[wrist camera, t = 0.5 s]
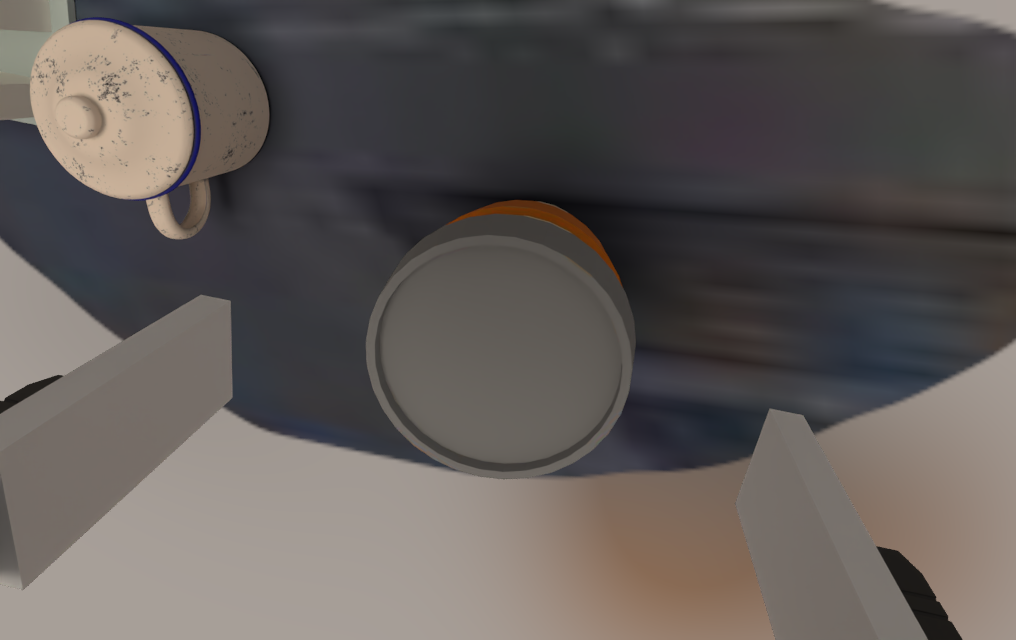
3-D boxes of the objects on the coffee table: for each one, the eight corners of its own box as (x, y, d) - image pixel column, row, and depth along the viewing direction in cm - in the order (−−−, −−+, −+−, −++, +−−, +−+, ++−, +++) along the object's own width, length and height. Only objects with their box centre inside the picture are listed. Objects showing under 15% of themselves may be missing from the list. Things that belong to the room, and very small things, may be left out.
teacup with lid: (125, 29, 40) (-47, 17, 30) (262, 22, 39) (133, 7, 28) (169, 218, 45) (33, 268, 34) (293, 218, 44) (192, 268, 33)
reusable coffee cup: (642, 336, 43) (661, 465, 30) (465, 368, 46) (407, 499, 32) (605, 150, 39) (607, 197, 25) (413, 196, 42) (320, 262, 28)
